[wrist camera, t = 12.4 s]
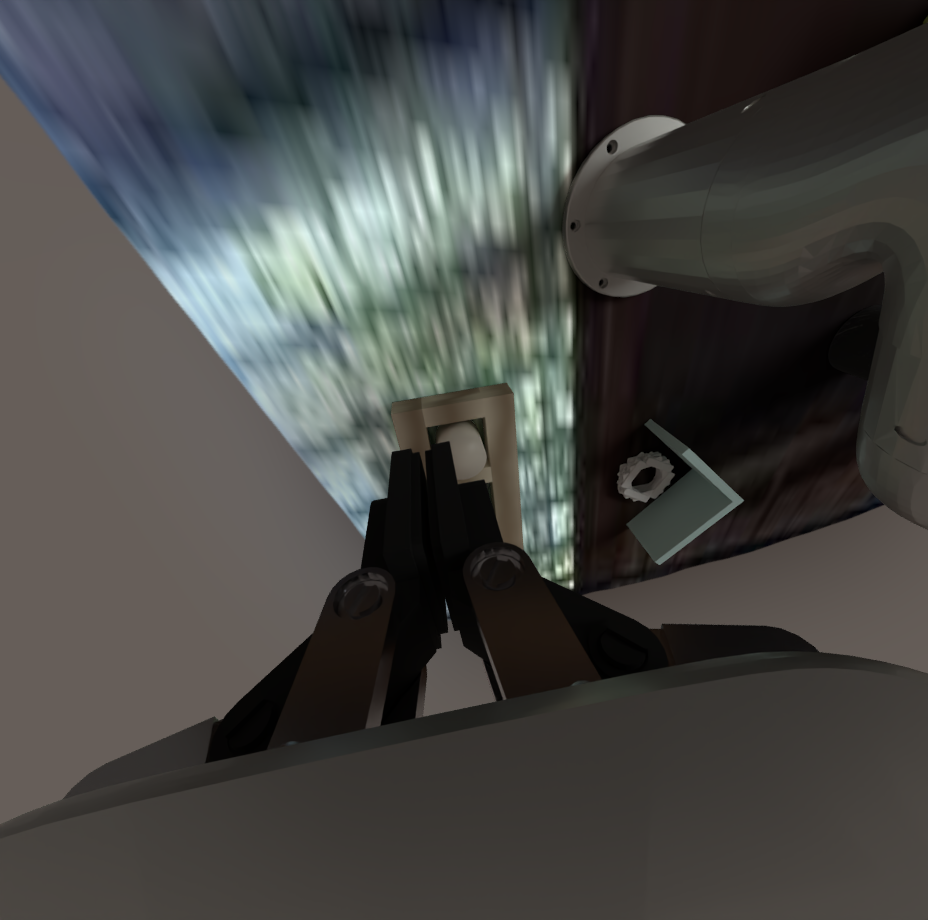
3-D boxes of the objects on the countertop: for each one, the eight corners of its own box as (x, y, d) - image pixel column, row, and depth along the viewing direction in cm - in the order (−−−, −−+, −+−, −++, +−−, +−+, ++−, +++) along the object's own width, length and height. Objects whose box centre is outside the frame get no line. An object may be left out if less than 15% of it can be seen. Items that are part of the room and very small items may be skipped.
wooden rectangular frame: (506, 382, 38) (513, 393, 36) (519, 557, 52) (524, 573, 49) (392, 402, 38) (391, 414, 35) (435, 573, 51) (437, 590, 49)
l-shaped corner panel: (647, 417, 43) (689, 448, 37) (699, 465, 48) (744, 500, 42) (574, 486, 47) (599, 525, 41) (628, 525, 52) (659, 565, 46)
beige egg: (475, 412, 39) (483, 434, 35) (480, 450, 42) (488, 475, 37) (431, 420, 39) (434, 442, 35) (439, 458, 41) (442, 483, 37)
